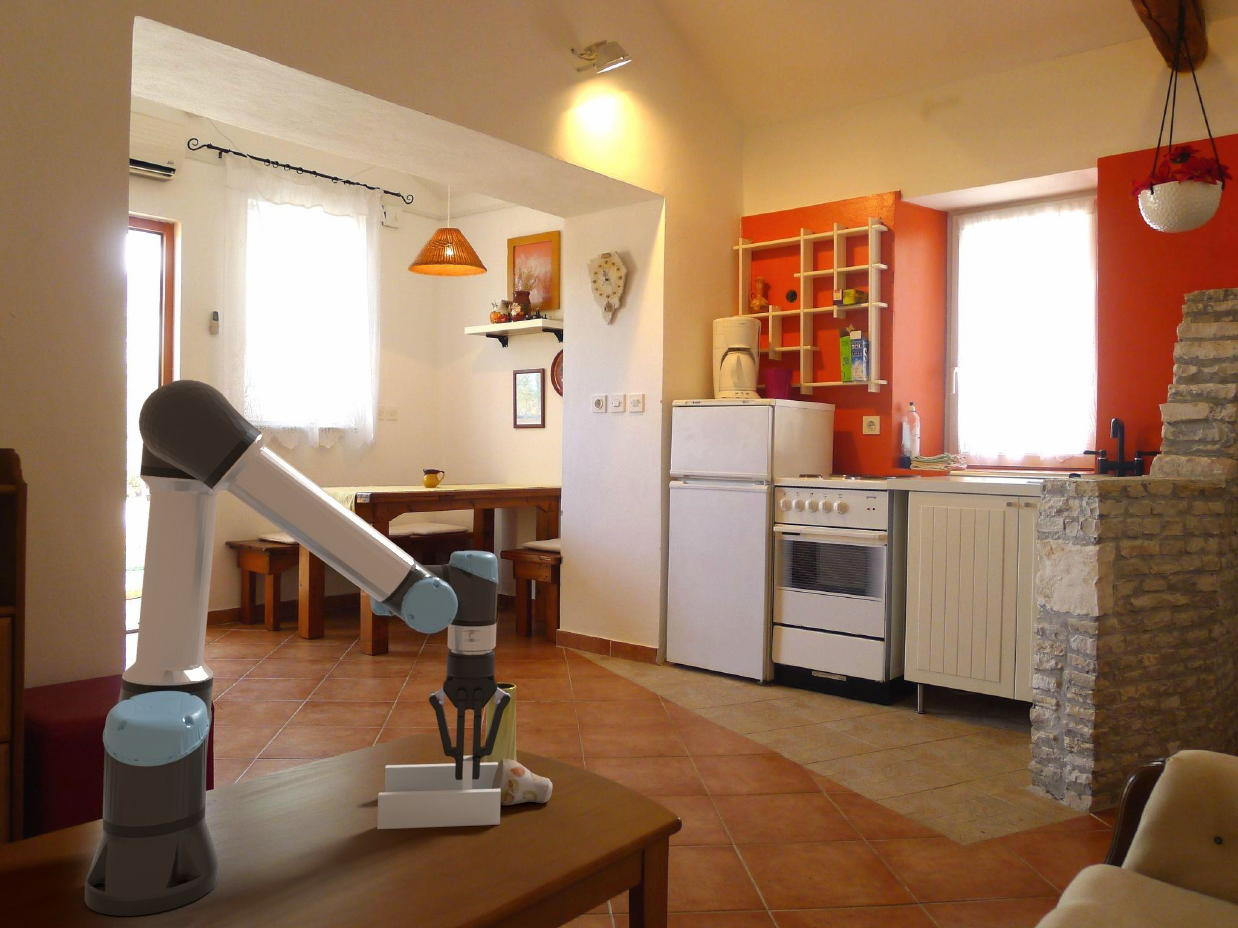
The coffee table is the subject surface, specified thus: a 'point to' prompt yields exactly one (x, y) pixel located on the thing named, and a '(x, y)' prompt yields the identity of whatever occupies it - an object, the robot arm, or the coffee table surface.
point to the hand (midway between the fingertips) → (466, 799)
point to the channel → (437, 797)
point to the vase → (503, 727)
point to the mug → (520, 784)
